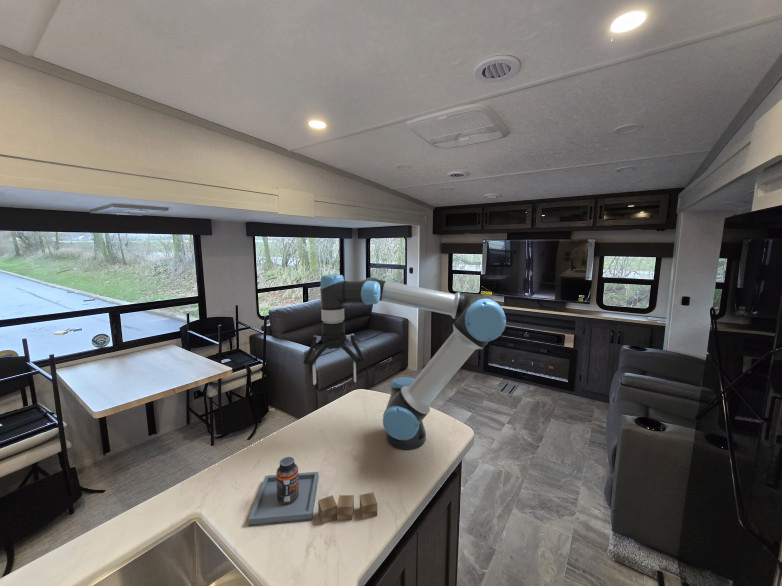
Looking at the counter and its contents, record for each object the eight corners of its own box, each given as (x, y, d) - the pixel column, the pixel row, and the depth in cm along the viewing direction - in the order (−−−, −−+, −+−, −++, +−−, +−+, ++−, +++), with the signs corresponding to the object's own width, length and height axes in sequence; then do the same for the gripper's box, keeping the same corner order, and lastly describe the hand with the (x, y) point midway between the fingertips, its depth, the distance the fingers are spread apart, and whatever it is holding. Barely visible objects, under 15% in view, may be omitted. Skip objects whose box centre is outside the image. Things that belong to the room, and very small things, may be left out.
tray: (318, 477, 98) (318, 471, 98) (311, 520, 82) (311, 513, 82) (265, 481, 96) (265, 475, 96) (248, 526, 80) (248, 519, 80)
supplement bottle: (292, 507, 86) (291, 469, 84) (272, 503, 87) (271, 466, 85) (302, 491, 92) (301, 455, 90) (284, 488, 93) (282, 453, 91)
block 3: (373, 505, 88) (373, 492, 87) (377, 516, 84) (377, 503, 83) (359, 508, 86) (359, 495, 86) (362, 520, 83) (362, 506, 82)
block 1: (332, 508, 86) (332, 495, 86) (337, 518, 83) (337, 505, 82) (318, 513, 85) (318, 500, 84) (322, 525, 81) (322, 511, 81)
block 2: (353, 508, 86) (353, 495, 86) (352, 520, 82) (352, 506, 82) (339, 508, 86) (339, 495, 86) (337, 520, 82) (336, 506, 82)
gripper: (369, 317, 109) (370, 375, 112) (296, 320, 106) (299, 379, 109) (371, 322, 102) (372, 383, 105) (292, 324, 99) (295, 388, 101)
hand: (335, 381), depth 107 cm, fingers open, 13 cm apart
